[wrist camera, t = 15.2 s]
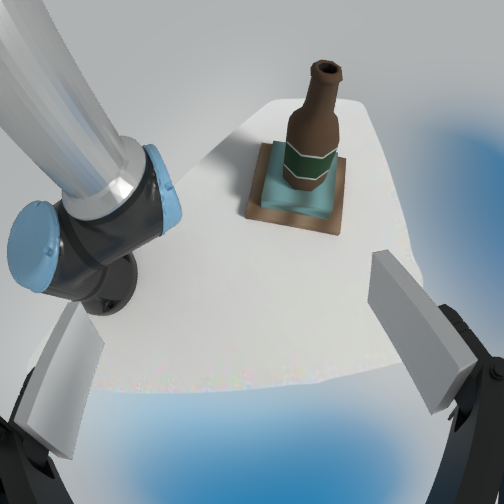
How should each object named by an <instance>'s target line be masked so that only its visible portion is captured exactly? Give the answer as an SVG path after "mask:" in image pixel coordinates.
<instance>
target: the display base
mask: <svg viewBox="0 0 504 504" xmlns="http://www.w3.org/2000/svg"><path fill="white" fill-rule="evenodd" d="M285 145H286V143H285V142H279V141H273V144H267V143H262V144H261V149H260V153H259V157H258V162H257V166H256V170H255V175H254V179H253V183H252V188H251V192H250V196H249V201H248V205H247V210H246V214H245V217H246V219H252V220H258V221H263V222H269V223H274V224H280V225H285V226H291V227H296V228H301V229H307V230H312V231H317V232H322V233H327V234H332V235H337V236H338V235H339V234H340V230H341V220H342V209H343V198H344V184H345V169H346V158H342V157H338V153H337V152H336V153H335V156H334V158H333V161H332V163H331V166H330V169H329V171H328V174H327V176H326V178H325V180H324V182H323V183H322V184H321V185H319V186H318V187H316V188H315V189H314V190H312V191H303V190H294V189H293V188H292V187H291V186H290V185H289V183H288V182H287V181H286V180H285V179H284V178H283V164H284V153H285Z"/></svg>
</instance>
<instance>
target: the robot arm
mask: <svg viewBox="0 0 504 504" xmlns="http://www.w3.org/2000/svg"><path fill="white" fill-rule="evenodd" d="M0 127H1V128H2V129H3V130H4V131H5V132H6V133H7V134H8V135H9V137H10V138H11V139H12V140H13V141H14V142H15V143H16V144H17V145H18V146H19V147H20V148H21V149H22V150H23V151H24V152H25V153H26V154H27V155H28V156H29V157H30V158H31V159H32V160H33V161H34V163H36V165H38V166H39V168H40V169H41V170H42V171H44V172H45V173H46V174H47V175H48V176H49V177H50V178H51V179H52V180H53V181H54V182H55V183H56V184H57V185H58V186H59V187H60V188H61V189H62V199H61V200H60V201H58V202H57V203H56V204H54V205H51V204H50V203H49V202H47V201H44V202H41V201H34V202H31V203H30V204H28V205H27V206H26V207H24V208H23V210H22V211H21V212H20V213H19V215H18V216H17V218H16V220H15V221H14V223H13V226H12V228H11V232H10V236H9V239H8V245H7V259H8V266H9V269H10V272H11V274H12V276H13V278H14V279H15V281H16V282H17V283H18V284H19V285H21V286H23V287H25V288H27V289H30V290H31V291H33V292H35V293H44V294H47V295H52V296H56V297H60V298H64V299H68V300H71V301H72V302H71V303H68V304H67V306H66V308H65V309H64V311H63V313H62V315H61V317H60V319H59V320H58V322H57V324H56V326H55V328H54V330H53V332H52V334H51V336H50V338H49V340H48V342H47V344H46V346H45V348H44V350H43V352H42V354H41V356H40V358H39V360H38V362H37V365H36V367H34V368H33V369H32V370H31V371H30V373H29V374H28V375H27V377H26V379H25V381H24V384H23V387H22V389H21V391H20V395H19V396H18V398H17V401H16V403H15V406H14V408H13V411H12V414H11V416H10V419H9V422H8V423H7V422H6V421H5V420H4V419H3V418H2V417H1V416H0V504H74V503H73V501H72V500H71V498H70V496H69V494H68V492H67V490H66V488H65V486H64V484H63V482H62V480H61V478H60V476H59V473H58V471H57V469H56V467H55V465H54V462H53V460H52V459H51V458H50V457H49V456H48V453H49V451H51V452H52V453H53V454H55V455H56V456H58V457H61V458H65V459H70V460H72V459H73V454H74V449H75V444H76V440H77V436H78V432H79V427H80V424H81V420H82V416H83V412H84V408H85V405H86V401H87V397H88V394H89V391H90V387H91V384H92V380H93V377H94V374H95V371H96V368H97V364H98V361H99V358H100V355H101V352H102V349H103V346H104V344H105V343H104V342H103V340H102V338H101V337H100V335H99V333H98V332H97V330H96V328H95V327H94V325H93V323H92V321H91V320H90V318H89V316H88V314H87V313H89V314H92V315H98V316H107V315H111V314H114V313H116V312H118V311H119V310H121V309H122V308H123V307H124V306H125V305H126V304H127V303H128V302H129V300H130V299H131V297H132V295H133V293H134V290H135V287H136V284H137V275H138V272H137V264H136V260H135V258H134V255H133V253H132V251H134V250H135V249H137V248H139V247H141V246H142V245H144V244H146V243H148V242H150V241H151V240H153V239H155V238H157V237H160V236H162V235H164V234H165V232H166V231H168V230H169V229H171V228H172V227H174V226H176V225H177V224H178V223H179V222H180V220H181V218H182V209H181V205H180V202H179V199H178V196H177V194H176V191H175V188H174V186H173V185H172V181H171V179H170V176H169V174H168V171H167V169H166V166H165V164H164V162H163V160H162V158H161V155H160V153H159V151H158V150H157V148H156V147H155V146H154V145H153V144H149V145H143V146H141V145H140V144H139V143H138V142H137V141H136V140H135V139H133V138H131V137H127V136H119V135H118V133H117V131H116V129H115V128H114V126H113V125H112V123H111V122H110V120H109V118H108V117H107V115H106V113H105V112H104V110H103V108H102V107H101V105H100V103H99V102H98V100H97V98H96V97H95V95H94V93H93V92H92V90H91V88H90V87H89V85H88V83H87V82H86V80H85V78H84V76H83V75H82V73H81V71H80V70H79V68H78V66H77V64H76V63H75V61H74V59H73V57H72V55H71V54H70V52H69V50H68V49H67V47H66V45H65V43H64V41H63V39H62V38H61V36H60V34H59V32H58V30H57V28H56V26H55V24H54V23H53V21H52V19H51V17H50V15H49V13H48V11H47V9H46V7H45V5H44V3H43V1H42V0H0ZM368 304H369V305H370V307H371V308H372V310H373V312H374V313H375V315H376V317H377V318H378V320H379V322H380V323H381V325H382V327H383V328H384V330H385V332H386V333H387V335H388V337H389V338H390V340H391V342H392V344H393V345H394V347H395V349H396V351H397V352H398V354H399V356H400V358H401V359H402V361H403V363H404V364H405V366H406V368H407V370H408V372H409V374H410V376H411V377H412V379H413V381H414V383H415V385H416V387H417V389H418V390H419V392H420V394H421V396H422V398H423V400H424V402H425V404H426V406H427V408H428V410H429V412H430V413H431V415H433V414H435V413H437V412H440V411H442V410H444V409H446V408H448V407H449V405H450V404H451V402H452V401H453V399H455V401H456V403H457V406H456V407H455V409H454V410H453V411H452V413H451V414H450V415H449V418H448V420H450V419H451V418H452V417H453V421H452V425H451V429H450V433H449V437H448V440H447V444H446V448H445V451H444V454H443V458H442V461H441V463H440V467H439V469H438V472H437V475H436V478H435V481H434V483H433V486H432V489H431V491H430V494H429V496H428V499H427V501H426V503H425V504H495V502H496V499H497V495H498V491H499V497H498V504H504V359H503V358H501V357H492V356H491V355H490V354H489V353H488V351H487V350H486V348H485V347H484V346H483V345H482V343H481V342H480V341H479V339H478V338H477V337H476V335H475V334H474V333H473V332H472V330H471V329H469V327H468V325H467V324H466V323H465V322H463V319H462V318H461V317H460V316H459V314H458V313H457V312H456V311H455V310H453V309H452V308H451V307H449V306H447V305H446V304H443V305H441V306H437V305H436V304H435V303H434V302H433V301H432V299H431V298H430V297H429V296H428V295H427V293H425V291H424V290H423V289H422V287H421V286H420V285H419V284H418V283H417V282H416V280H415V279H414V278H413V277H412V276H411V275H410V274H409V272H408V271H407V270H406V269H405V268H404V267H403V266H402V265H401V264H400V262H399V261H398V260H397V259H396V258H395V257H394V256H393V255H392V254H391V253H390V252H389V250H383V251H378V252H373V253H372V265H371V276H370V285H369V294H368Z"/></svg>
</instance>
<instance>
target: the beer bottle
mask: <svg viewBox="0 0 504 504" xmlns="http://www.w3.org/2000/svg"><path fill="white" fill-rule="evenodd" d="M311 76H312V77H311V81H310V85H309V88H308V92H307V96H306V100H305V102H304V104H303V106H302V107H301V108H299V109H297V110H296V111H294V112H293V114H292V115H291V116H290V118H289V122H288V127H287V136H286V145H285V153H284V164H283V178H284V179H285V180H286V181H287V182H288V183H289V185H290V186H291V187H292V188H293V189H294V190H303V191H312V190H314V189H315V188H316V187H318V186H319V185H321V184H322V183H323V182H324V180H325V178H326V176H327V174H328V171H329V169H330V166H331V163H332V161H333V158H334V156H335V153H336V150H337V148H338V144H339V123H338V118H337V116H336V115H335V113H334V107H335V102H336V96H337V91H338V85H339V82H340V81H342V80H343V79H342V70H341V67H340V66H338V65H337V64H335V63H334V62H333V61H327V60H319V61H317V62H315V63H313V65H312V66H311Z"/></svg>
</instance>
